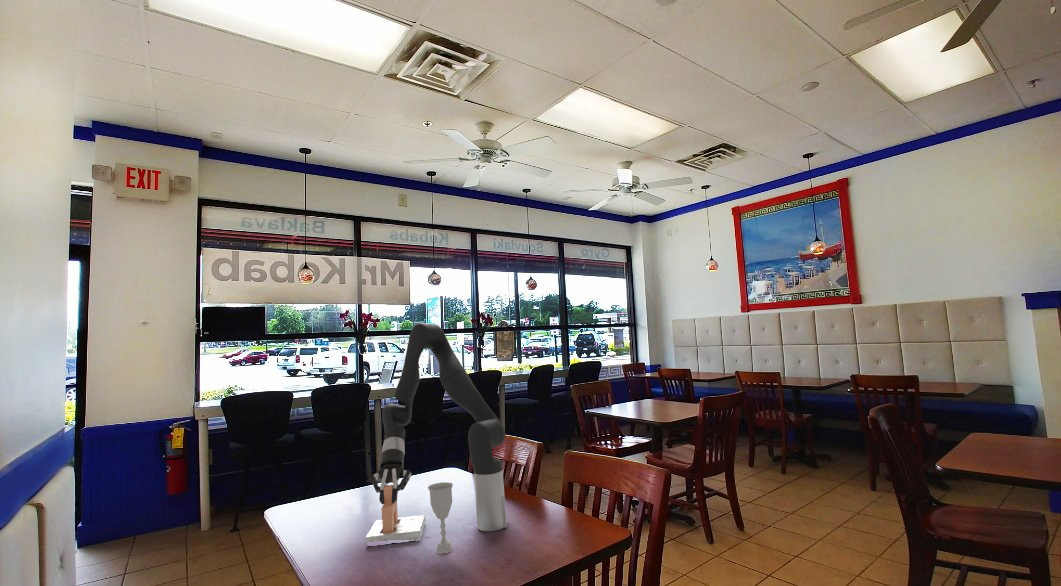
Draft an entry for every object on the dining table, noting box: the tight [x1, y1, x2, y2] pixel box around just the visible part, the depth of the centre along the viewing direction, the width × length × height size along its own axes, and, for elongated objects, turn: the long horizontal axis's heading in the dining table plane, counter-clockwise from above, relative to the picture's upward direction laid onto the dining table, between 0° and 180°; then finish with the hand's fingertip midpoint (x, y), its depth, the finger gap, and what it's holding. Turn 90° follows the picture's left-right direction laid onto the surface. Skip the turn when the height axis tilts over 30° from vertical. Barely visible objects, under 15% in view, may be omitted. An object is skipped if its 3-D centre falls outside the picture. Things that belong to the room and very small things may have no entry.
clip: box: [381, 484, 399, 533], centre depth 157 cm, size 3×10×14 cm, turn 6°
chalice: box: [427, 481, 454, 554], centre depth 143 cm, size 7×7×18 cm
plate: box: [365, 514, 426, 543], centre depth 156 cm, size 16×14×3 cm
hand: (387, 502), depth 155 cm, fingers open, 2 cm apart
